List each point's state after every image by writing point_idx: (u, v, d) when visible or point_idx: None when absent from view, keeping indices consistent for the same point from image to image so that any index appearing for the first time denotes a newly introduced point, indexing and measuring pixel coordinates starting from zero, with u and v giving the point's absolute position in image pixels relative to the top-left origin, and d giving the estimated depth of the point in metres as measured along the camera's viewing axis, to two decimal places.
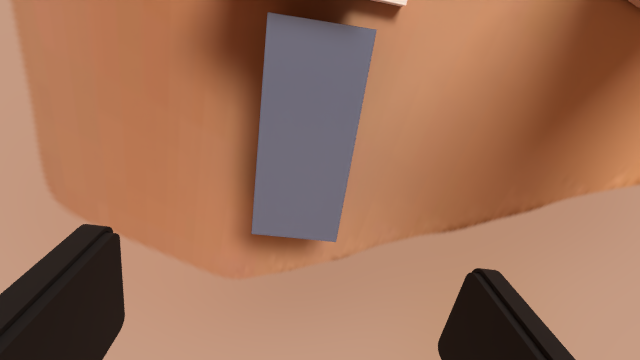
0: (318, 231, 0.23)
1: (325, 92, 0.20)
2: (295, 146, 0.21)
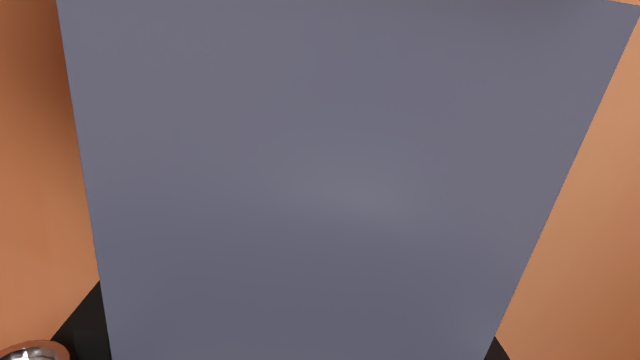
0: None
1: (370, 273, 0.05)
2: None
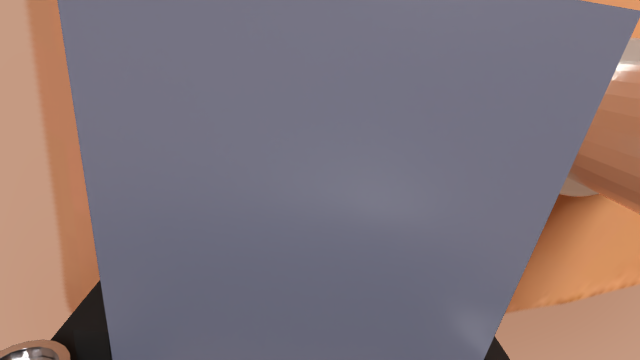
0: None
1: (370, 275, 0.05)
2: None
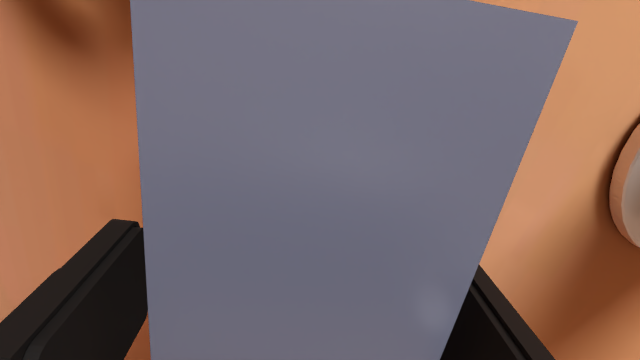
0: None
1: (364, 233, 0.06)
2: None
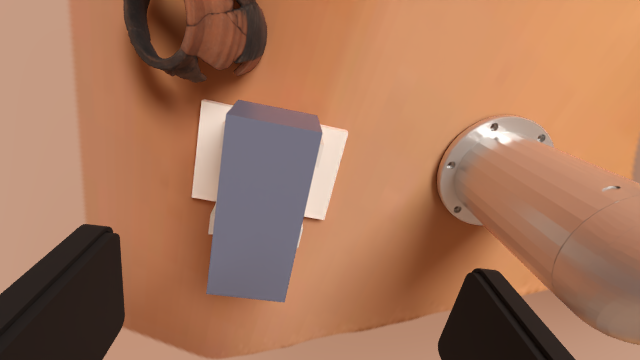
0: (268, 293, 0.26)
1: (276, 180, 0.22)
2: (248, 223, 0.23)
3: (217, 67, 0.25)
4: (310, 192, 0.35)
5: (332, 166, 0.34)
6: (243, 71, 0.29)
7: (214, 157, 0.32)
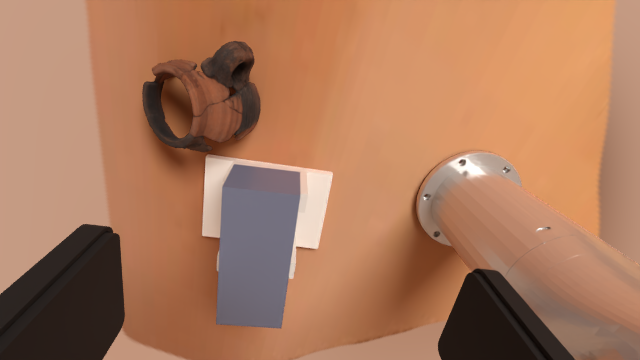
0: (267, 321, 0.31)
1: (266, 233, 0.27)
2: (246, 267, 0.28)
3: (220, 141, 0.31)
4: (304, 226, 0.40)
5: (321, 203, 0.39)
6: (242, 136, 0.34)
7: (219, 201, 0.38)
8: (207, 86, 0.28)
